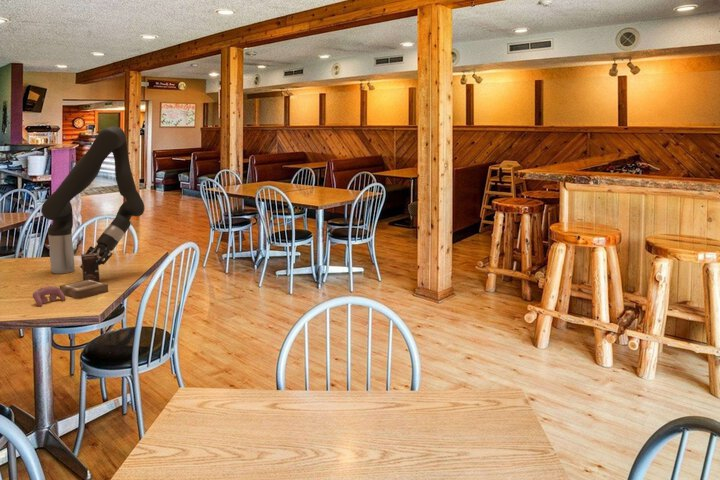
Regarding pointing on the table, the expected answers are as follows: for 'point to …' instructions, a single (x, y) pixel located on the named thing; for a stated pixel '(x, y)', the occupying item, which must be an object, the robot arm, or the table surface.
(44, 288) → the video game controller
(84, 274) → the box
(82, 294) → the base board
